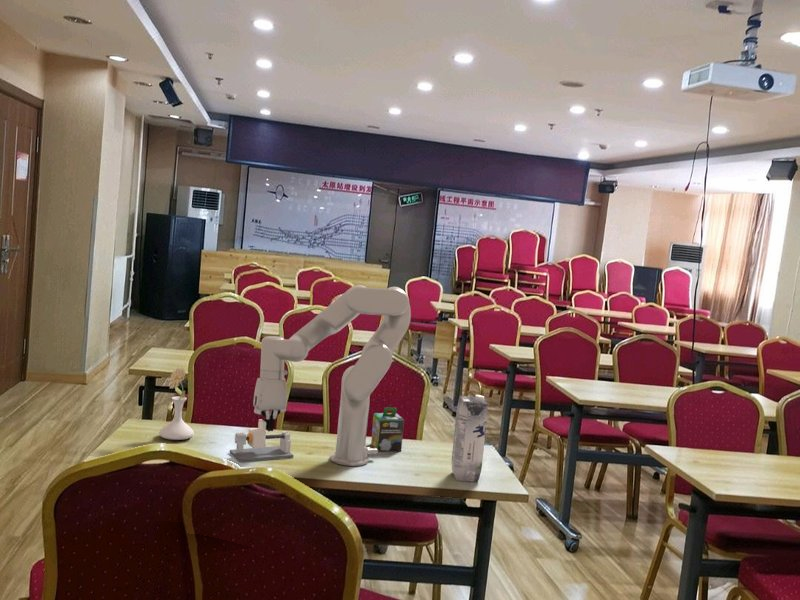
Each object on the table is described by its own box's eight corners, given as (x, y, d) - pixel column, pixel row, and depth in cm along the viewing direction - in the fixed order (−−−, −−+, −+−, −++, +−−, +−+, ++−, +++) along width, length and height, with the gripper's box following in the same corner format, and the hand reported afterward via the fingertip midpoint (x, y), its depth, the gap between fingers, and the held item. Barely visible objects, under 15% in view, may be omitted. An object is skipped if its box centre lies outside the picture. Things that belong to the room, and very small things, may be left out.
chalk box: (394, 443, 267) (398, 403, 266) (402, 451, 258) (406, 410, 257) (369, 443, 264) (373, 403, 263) (376, 451, 255) (381, 409, 254)
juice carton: (453, 481, 231) (462, 397, 228) (449, 471, 241) (457, 390, 239) (481, 483, 231) (490, 399, 229) (475, 472, 242) (484, 392, 240)
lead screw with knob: (285, 438, 244) (286, 430, 244) (289, 441, 241) (290, 432, 241) (239, 442, 235) (240, 432, 235) (242, 444, 233) (243, 435, 233)
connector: (241, 452, 236) (243, 432, 236) (244, 455, 234) (246, 435, 233) (233, 453, 235) (235, 433, 234) (237, 455, 232) (238, 435, 232)
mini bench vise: (281, 448, 247) (283, 428, 247) (293, 457, 239) (295, 436, 238) (229, 452, 238) (231, 431, 237) (240, 462, 229) (241, 440, 229)
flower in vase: (158, 433, 251) (163, 361, 249) (192, 433, 255) (197, 362, 253) (159, 444, 239) (164, 369, 237) (195, 444, 243) (201, 370, 241)
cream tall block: (259, 442, 240) (261, 418, 239) (264, 447, 236) (266, 422, 235) (247, 443, 238) (249, 419, 237) (252, 448, 234) (254, 423, 233)
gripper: (289, 371, 244) (286, 425, 246) (245, 373, 236) (243, 429, 238) (297, 375, 238) (295, 431, 239) (253, 378, 230) (251, 435, 232)
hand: (269, 430), depth 239 cm, fingers closed
